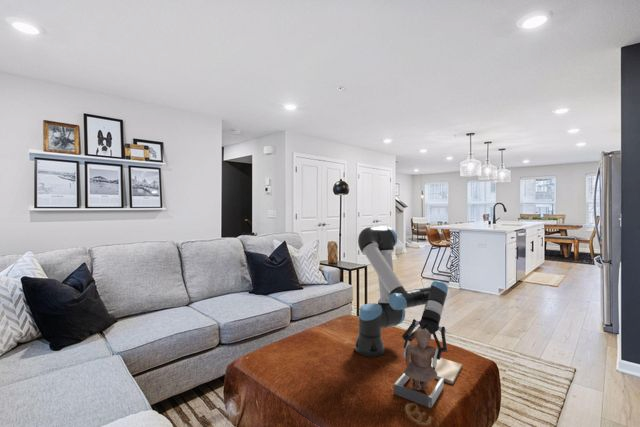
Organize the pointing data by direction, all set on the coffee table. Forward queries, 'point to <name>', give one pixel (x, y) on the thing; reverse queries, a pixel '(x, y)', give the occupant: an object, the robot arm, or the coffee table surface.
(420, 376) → the clay figurine
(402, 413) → the coffee table surface
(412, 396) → the grey channel
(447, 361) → the cream square slab
